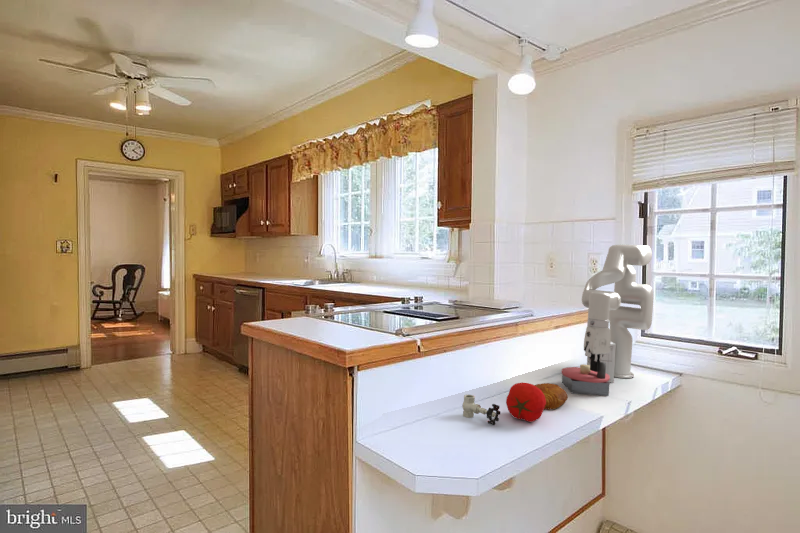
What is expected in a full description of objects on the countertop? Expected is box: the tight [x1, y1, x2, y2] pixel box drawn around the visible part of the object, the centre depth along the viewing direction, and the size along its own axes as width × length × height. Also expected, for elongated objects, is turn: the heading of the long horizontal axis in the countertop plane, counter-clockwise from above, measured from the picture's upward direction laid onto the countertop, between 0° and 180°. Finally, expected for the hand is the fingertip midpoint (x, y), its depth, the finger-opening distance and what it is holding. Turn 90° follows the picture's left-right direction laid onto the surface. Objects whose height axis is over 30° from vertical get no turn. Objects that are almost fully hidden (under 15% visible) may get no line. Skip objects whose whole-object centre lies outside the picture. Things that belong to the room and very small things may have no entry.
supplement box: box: [586, 342, 616, 384], centre depth 198 cm, size 10×9×17 cm
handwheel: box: [561, 362, 610, 383], centre depth 182 cm, size 18×18×7 cm
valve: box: [462, 394, 501, 426], centre depth 144 cm, size 7×7×12 cm
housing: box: [561, 374, 610, 397], centre depth 182 cm, size 14×14×5 cm
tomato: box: [505, 382, 546, 423], centre depth 147 cm, size 13×13×13 cm
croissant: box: [534, 382, 569, 410], centre depth 164 cm, size 14×16×8 cm
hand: (594, 370), depth 175 cm, fingers closed
